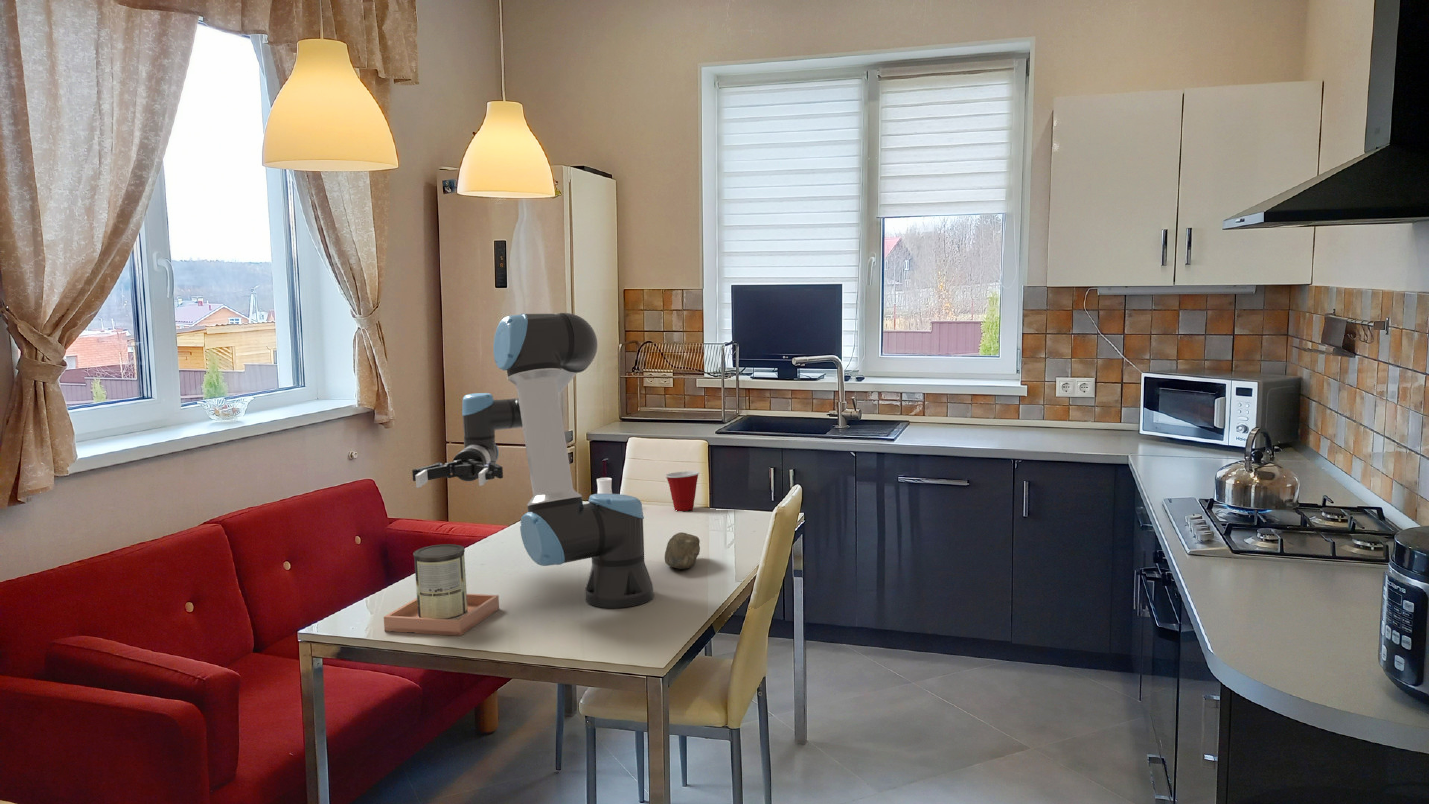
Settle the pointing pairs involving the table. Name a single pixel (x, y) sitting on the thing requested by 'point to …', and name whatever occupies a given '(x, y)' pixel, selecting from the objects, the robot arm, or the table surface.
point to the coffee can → (441, 582)
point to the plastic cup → (683, 489)
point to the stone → (682, 550)
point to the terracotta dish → (410, 622)
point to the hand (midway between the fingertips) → (448, 480)
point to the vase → (604, 485)
